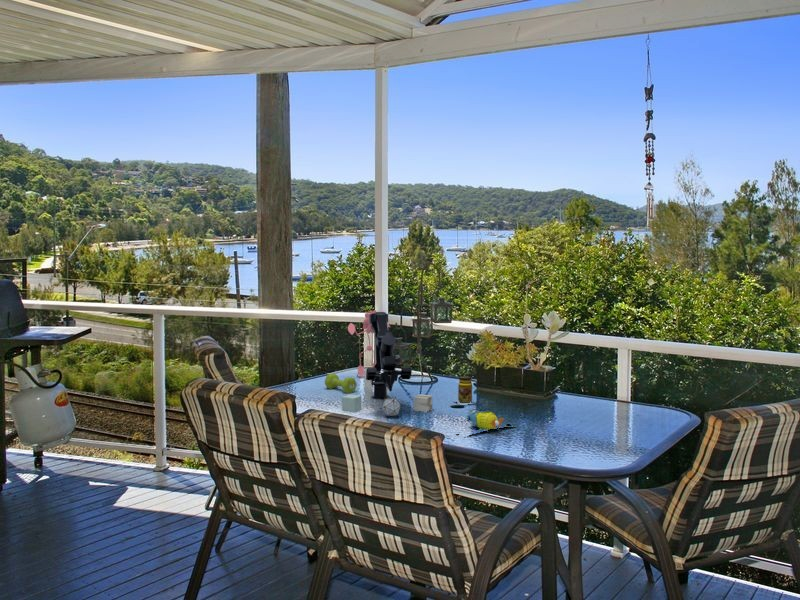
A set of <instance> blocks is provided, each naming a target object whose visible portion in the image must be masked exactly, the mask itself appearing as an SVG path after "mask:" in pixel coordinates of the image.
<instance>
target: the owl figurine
mask: <svg viewBox="0 0 800 600" xmlns="http://www.w3.org/2000/svg"><path fill="white" fill-rule="evenodd" d="M504 419H505V418H504V417H500V418H499V419H498V416H497V415H496V414H495V413H494V412H492V411H491V410H490V409H475V410H472V411H471V412H470V413H469V414H467V416H466V422H468V423H469V422H471V423H472V424H473V425H475V426H476V427H477V428H478V429H480V428H481V429H488V430H490V429H494V428H495V429H496V426H499V428H500V425H502V423H503V421H504Z"/></svg>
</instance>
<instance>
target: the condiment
mask: <svg viewBox="0 0 800 600" xmlns="http://www.w3.org/2000/svg"><path fill="white" fill-rule="evenodd" d="M458 380H459V382H458V387H457V388H458V391H457V393H458V394H457V398H458V399H457V401H459V402H460V403H470V402H472V403H473V383H472V377H471V376H469V375H464V376H463V375H462V376H459V379H458Z"/></svg>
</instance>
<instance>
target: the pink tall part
mask: <svg viewBox="0 0 800 600" xmlns="http://www.w3.org/2000/svg"><path fill="white" fill-rule="evenodd" d="M376 312H377V309H373V310H370V311H369V312H365V313H364V317H365V318H364V319H363V320H362V321H363V325H362V329H363V331H361V332H359V333H358V332H357V330H356V327H355V324H353V323H352V322H350V323H349V324H348V326H347V331H348V333H349V334H350V335H351V336H353V335H354V333H355V334H356V335H357V336H359V335H360V334H363V333H365V332H366V334H367V338H368V339H367V340H368V344H369V345H367V347H366V350H365V349H364V351H362V352H360V353H359V356H361V354H363V353H365V352H367V351H369V352H370V351H372V352H373V354H375V351H374V349H373V347H372V345H371V340H370V335H369V334H370V333H371V334H374V332H373V330H372V329H371V323H369V316H370V314H372V313H376ZM387 326H388V328H391V326H390V324H389V322H388V323H387ZM359 364H360V365H358V367H357V374H356V377H359V376H360V378H363V377H364V376H365V374H366V371H365V368H364V366H363V365H362V359H361V357H359ZM375 364H376V363H375V362H372V366H371V368H374V366H375Z"/></svg>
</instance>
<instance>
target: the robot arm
mask: <svg viewBox="0 0 800 600" xmlns="http://www.w3.org/2000/svg"><path fill="white" fill-rule="evenodd" d="M369 323H371V329H372V330H373V332H374V333H373V334H374V350H375V351H374V358H375V363H374V364H375V366H374V368H372V367H367V368H366V369H365V370H366V371H365V380H366V381H370V385H371V386H373V396H370V398H371V399H377V400H385V399H384V397H385V398H386V399H389V398H390V395H389V394H388V393H387V390H388V391H389V392H392V390H393V386H394V383H395V382H397V381H398V377H399V376H400V379H402V380H411V377H412V373H413V370H412V368H411V366H401V369H398V370H397V364H400V363H401V356H400V354H395V355H394V351H395V346H396V344H397V339H396V337H395V336H394V335H393V333H392V332H393V331H391V330H389V327H388V326H387V323H388V324H389V313H387V312H385V311H376V313H372V314H370V316H369ZM387 394H388V395H387Z"/></svg>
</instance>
